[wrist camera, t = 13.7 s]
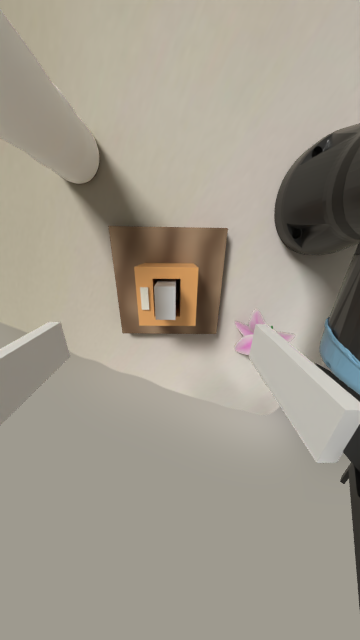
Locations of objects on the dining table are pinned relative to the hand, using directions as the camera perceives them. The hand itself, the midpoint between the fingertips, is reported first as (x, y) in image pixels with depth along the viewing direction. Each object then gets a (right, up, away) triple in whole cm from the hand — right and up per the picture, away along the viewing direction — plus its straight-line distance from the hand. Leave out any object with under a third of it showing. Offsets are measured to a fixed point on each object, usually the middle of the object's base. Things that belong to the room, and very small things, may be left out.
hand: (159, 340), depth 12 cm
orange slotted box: (0, +7, +17) cm, 19 cm away
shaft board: (0, +8, +19) cm, 21 cm away
